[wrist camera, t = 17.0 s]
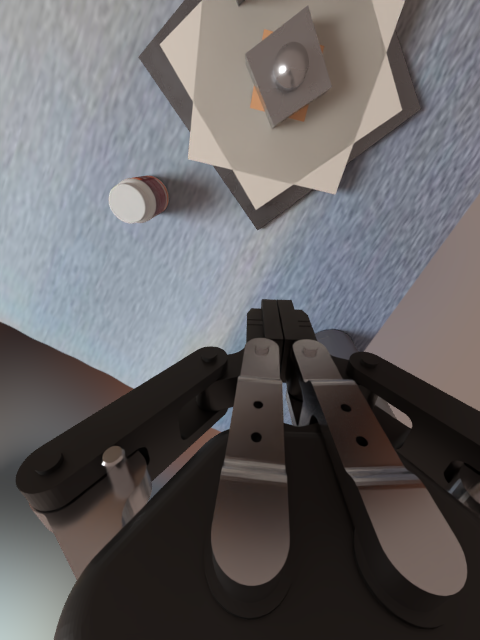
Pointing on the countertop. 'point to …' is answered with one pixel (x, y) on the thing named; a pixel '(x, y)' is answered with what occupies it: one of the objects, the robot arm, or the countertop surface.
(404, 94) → the base
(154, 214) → the pill bottle
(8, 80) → the countertop surface
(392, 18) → the turntable
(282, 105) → the cover
